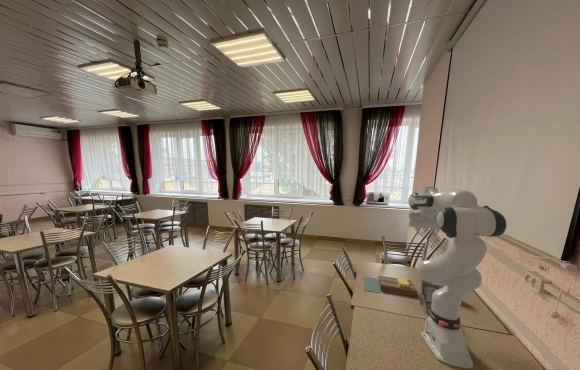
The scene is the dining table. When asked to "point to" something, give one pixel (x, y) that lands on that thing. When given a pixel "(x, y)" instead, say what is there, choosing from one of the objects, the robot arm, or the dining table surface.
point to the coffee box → (427, 295)
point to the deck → (396, 286)
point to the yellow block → (403, 282)
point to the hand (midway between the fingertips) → (426, 234)
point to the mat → (371, 284)
